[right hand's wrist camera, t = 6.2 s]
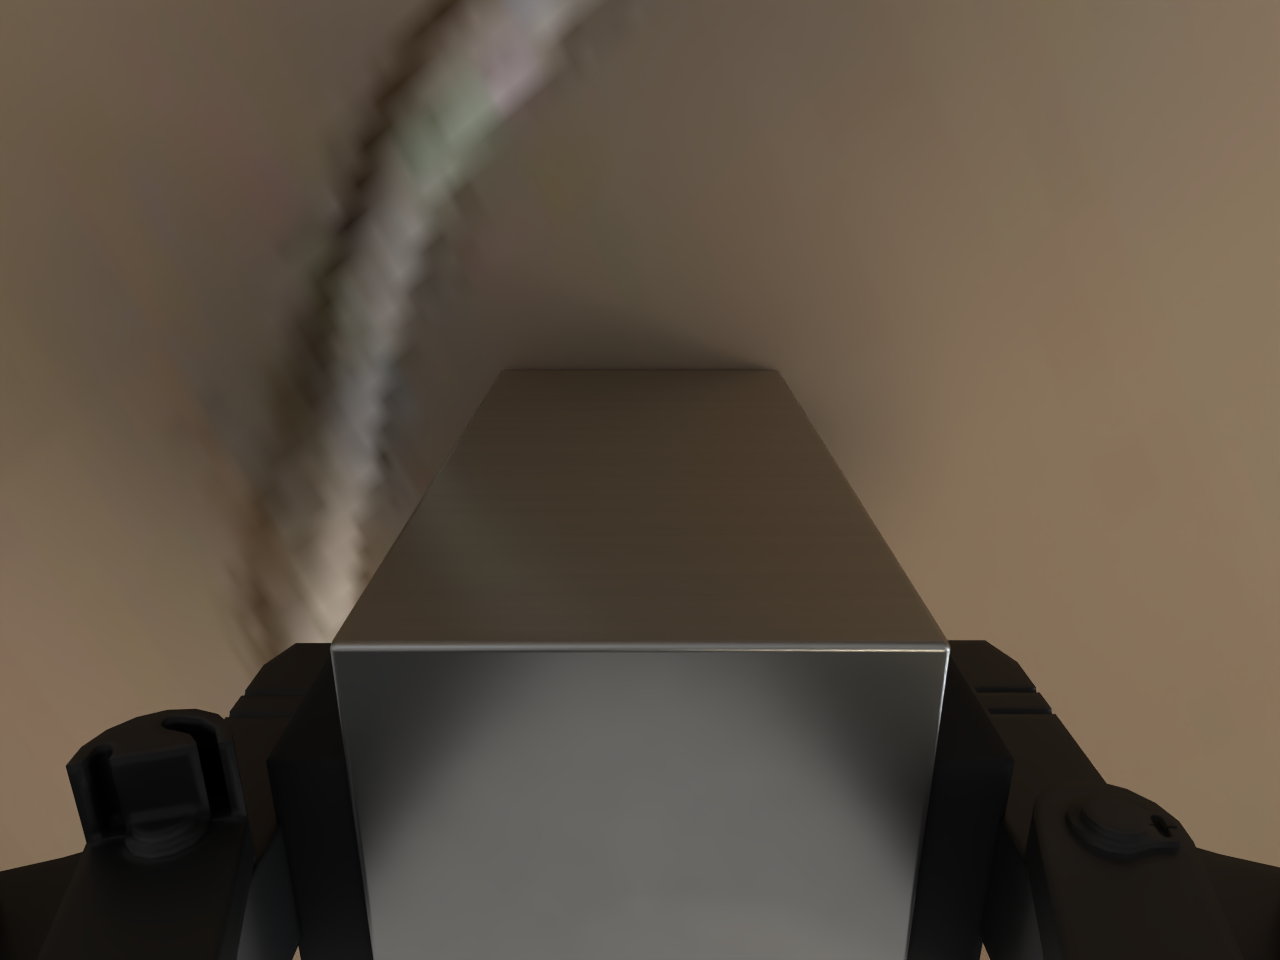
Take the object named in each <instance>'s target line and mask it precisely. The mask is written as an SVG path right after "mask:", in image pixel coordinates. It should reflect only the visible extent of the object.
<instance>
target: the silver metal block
mask: <svg viewBox="0 0 1280 960" xmlns="http://www.w3.org/2000/svg"><path fill="white" fill-rule="evenodd" d="M330 651H331V658H332V665H333V673H334V680H335V687H336V694H337V701H338V709H339V716H340V723H341V730H342V737H343V745H344V752H345V759H346V766H347V773H348V780H349V788H350V795H351V802H352V809H353V816H354V824H355V831H356V838H357V845H358V852H359V860H360V867H361V874H362V881H363V888H364V896H365V903H366V910H367V917H368V924H369V931H370V939H371V946H372V953H373V960H907V956H908V948H909V941H910V934H911V927H912V920H913V912H914V905H915V898H916V891H917V884H918V876H919V869H920V862H921V855H922V848H923V841H924V833H925V826H926V819H927V812H928V805H929V797H930V790H931V783H932V776H933V769H934V762H935V754H936V747H937V740H938V733H939V726H940V718H941V711H942V704H943V697H944V690H945V682H946V675H947V668H948V661H949V654H950V645H949V642H948V640H947V639H946V637H945V636H944V634H943V632H942V631H941V629H940V628H939V626H938V624H937V623H936V621H935V620H934V618H933V617H932V615H931V613H930V612H929V610H928V609H927V607H926V605H925V604H924V602H923V601H922V599H921V597H920V596H919V594H918V593H917V591H916V589H915V588H914V586H913V585H912V583H911V581H910V580H909V578H908V577H907V575H906V573H905V572H904V570H903V569H902V567H901V566H900V564H899V562H898V561H897V559H896V558H895V556H894V554H893V553H892V551H891V550H890V548H889V546H888V545H887V543H886V542H885V540H884V538H883V537H882V535H881V534H880V532H879V530H878V529H877V527H876V526H875V524H874V522H873V521H872V519H871V518H870V516H869V515H868V513H867V511H866V510H865V508H864V507H863V505H862V503H861V502H860V500H859V499H858V497H857V495H856V494H855V492H854V491H853V489H852V487H851V486H850V484H849V483H848V481H847V479H846V478H845V476H844V475H843V473H842V472H841V470H840V468H839V467H838V465H837V464H836V462H835V460H834V459H833V457H832V456H831V454H830V452H829V451H828V449H827V448H826V446H825V444H824V443H823V441H822V440H821V438H820V436H819V435H818V433H817V432H816V430H815V428H814V427H813V425H812V424H811V422H810V421H809V419H808V417H807V416H806V414H805V413H804V411H803V409H802V408H801V406H800V405H799V403H798V401H797V400H796V398H795V397H794V395H793V393H792V392H791V390H790V389H789V387H788V385H787V384H786V382H785V381H784V379H783V377H782V376H781V374H780V373H779V371H777V370H504V371H501V373H500V374H499V376H498V378H497V379H496V381H495V382H494V384H493V386H492V387H491V389H490V390H489V392H488V394H487V395H486V397H485V398H484V400H483V402H482V403H481V405H480V406H479V408H478V410H477V411H476V413H475V414H474V416H473V418H472V419H471V421H470V422H469V424H468V426H467V427H466V429H465V430H464V432H463V434H462V435H461V437H460V438H459V440H458V442H457V443H456V445H455V446H454V448H453V450H452V451H451V453H450V454H449V456H448V457H447V459H446V461H445V462H444V464H443V465H442V467H441V469H440V470H439V472H438V473H437V475H436V477H435V478H434V480H433V481H432V483H431V485H430V486H429V488H428V489H427V491H426V493H425V494H424V496H423V497H422V499H421V501H420V502H419V504H418V505H417V507H416V509H415V510H414V512H413V513H412V515H411V517H410V518H409V520H408V521H407V523H406V525H405V526H404V528H403V529H402V531H401V533H400V534H399V536H398V537H397V539H396V541H395V542H394V544H393V545H392V547H391V548H390V550H389V552H388V553H387V555H386V556H385V558H384V560H383V561H382V563H381V564H380V566H379V568H378V569H377V571H376V572H375V574H374V576H373V577H372V579H371V580H370V582H369V584H368V585H367V587H366V588H365V590H364V592H363V593H362V595H361V596H360V598H359V600H358V601H357V603H356V604H355V606H354V608H353V609H352V611H351V612H350V614H349V616H348V617H347V619H346V620H345V622H344V624H343V625H342V627H341V628H340V630H339V631H338V633H337V635H336V636H335V638H334V639H333V641H332V643H331V646H330Z"/></svg>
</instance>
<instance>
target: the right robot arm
mask: <svg viewBox="0 0 1280 960" xmlns="http://www.w3.org/2000/svg"><path fill="white" fill-rule="evenodd" d="M948 642H949V645H950V654H949V661H948V668H947V675H946V682H945V690H944V697H943V704H942V711H941V718H940V726H939V733H938V740H937V747H936V754H935V762H934V769H933V776H932V783H931V790H930V797H929V805H928V812H927V819H926V826H925V833H924V841H923V848H922V855H921V862H920V869H919V876H918V884H917V891H916V898H915V905H914V912H913V920H912V927H911V934H910V941H909V948H908V956H907V960H980V954H981V949H982V943H983V944H984V946H985V948H986V951H987V953H988V955H989V958H990V960H1280V867H1275V866H1271V865H1266V864H1261V863H1257V862H1252V861H1248V860H1243V859H1239V858H1234V857H1230V856H1225V855H1221V854H1217V853H1214V852H1210V851H1207V850H1203V849H1200V848H1196V846H1195V844H1194V842H1193V840H1192V839H1191V838H1190V836H1189V835H1188V833H1187V832H1186V831H1185V829H1184V828H1183V826H1182V825H1181V823H1180V822H1179V821H1178V820H1177V819H1175V818H1174V817H1173V816H1172V815H1170V814H1169V813H1168V812H1166V811H1165V810H1164V809H1163V808H1161V807H1160V806H1159V805H1157V804H1156V803H1155V802H1152V801H1150V800H1148V799H1146V798H1144V797H1142V796H1140V795H1138V794H1136V793H1134V792H1132V791H1130V790H1128V789H1125V788H1121V787H1117V786H1114V785H1110V784H1107V783H1106V782H1105V781H1104V779H1103V778H1102V777H1101V775H1100V774H1099V773H1098V771H1097V770H1096V769H1095V767H1094V766H1093V764H1092V763H1091V762H1090V760H1089V759H1088V758H1087V756H1086V755H1085V754H1084V752H1083V751H1082V750H1081V748H1080V747H1079V745H1078V744H1077V743H1076V741H1075V740H1074V739H1073V737H1072V736H1071V735H1070V733H1069V732H1068V730H1067V729H1066V728H1065V726H1064V725H1063V724H1062V722H1061V721H1060V720H1059V718H1058V717H1057V716H1056V714H1052V712H1051V707H1050V706H1049V705H1048V703H1047V702H1046V701H1045V699H1044V698H1043V696H1042V695H1041V694H1040V693H1036V687H1035V686H1034V684H1033V683H1032V682H1031V680H1030V679H1029V677H1028V676H1027V675H1026V673H1025V672H1024V671H1023V669H1022V668H1021V667H1020V665H1019V664H1018V663H1017V662H1016V661H1015V660H1013V659H1012V658H1010V657H1009V656H1007V655H1006V654H1004V653H1003V652H1001V651H1000V650H999V649H997V648H996V647H994V646H993V645H991V644H990V643H988V642H987V641H985V640H948ZM330 646H331V643H295V644H294V645H293V646H291V647H290V648H288V649H287V650H285V651H284V652H282V653H281V654H279V655H278V656H276V657H275V658H273V659H272V660H271V661H269V662H268V663H266V664H265V665H264V666H263V667H262V668H261V670H260V671H259V672H258V674H257V675H256V676H255V678H254V679H253V681H252V682H251V683H250V685H249V686H248V687H247V689H246V690H245V696H241V697H240V698H239V700H238V701H237V702H236V704H235V705H234V707H233V708H232V709H231V711H230V716H229V717H226V718H225V719H223V718H222V717H221V716H220V715H218V714H216V713H211V712H207V711H203V710H199V709H179V710H165V711H161V712H157V713H152V714H148V715H144V716H140V717H136V718H134V719H131V720H129V721H126V722H124V723H122V724H119V725H117V726H115V727H112V728H110V729H108V730H106V731H104V732H103V733H101V734H100V735H98V736H97V737H95V738H94V739H92V740H91V741H90V742H88V743H87V744H85V745H84V746H82V747H81V748H80V749H79V751H78V752H77V753H76V754H75V755H74V757H73V758H72V759H71V760H70V761H69V763H68V764H67V765H66V769H67V772H68V776H69V780H70V783H71V787H72V791H73V794H74V798H75V802H76V805H77V809H78V813H79V816H80V820H81V824H82V827H83V831H84V835H85V839H86V842H87V843H86V846H85V848H84V850H83V852H80V853H77V854H74V855H70V856H67V857H63V858H59V859H54V860H50V861H45V862H41V863H36V864H32V865H27V866H23V867H18V868H14V869H9V870H5V871H1V872H0V960H292V959H293V957H294V954H295V952H296V950H297V947H298V945H299V951H300V957H301V960H373V953H372V946H371V939H370V931H369V924H368V917H367V910H366V903H365V896H364V888H363V881H362V874H361V867H360V860H359V852H358V845H357V838H356V831H355V824H354V816H353V809H352V802H351V795H350V788H349V780H348V773H347V766H346V759H345V752H344V745H343V737H342V730H341V723H340V716H339V709H338V701H337V694H336V687H335V680H334V673H333V665H332V658H331V651H330Z"/></svg>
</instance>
